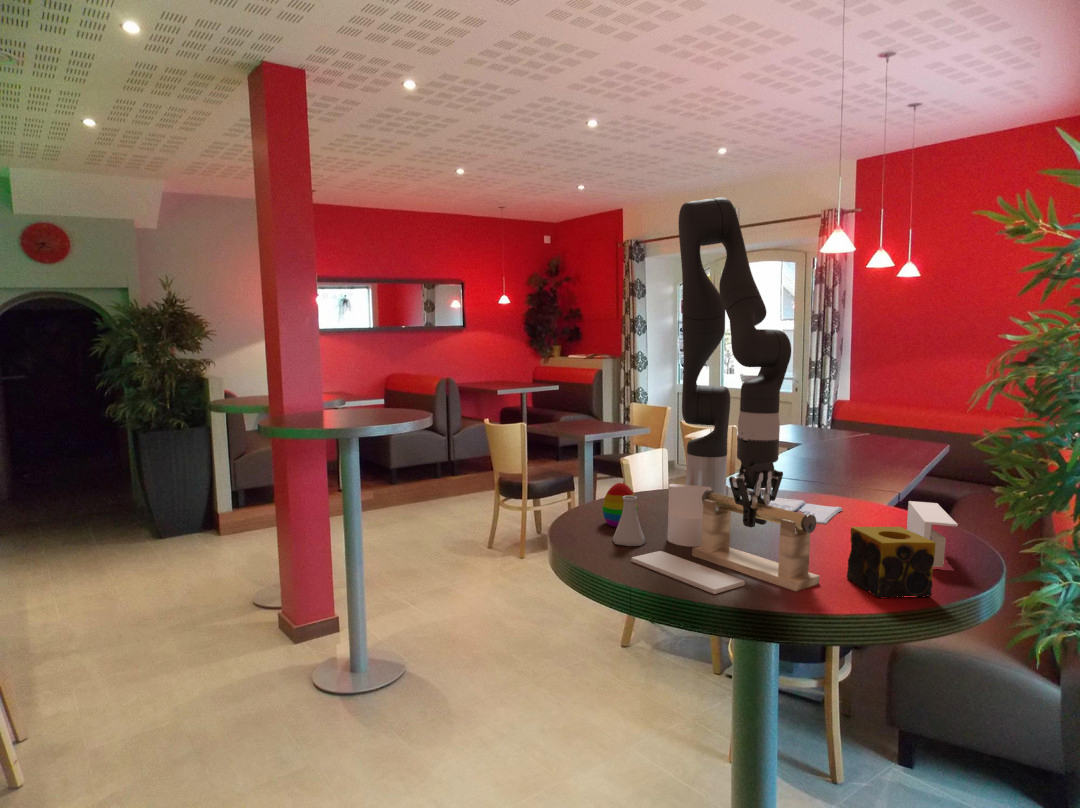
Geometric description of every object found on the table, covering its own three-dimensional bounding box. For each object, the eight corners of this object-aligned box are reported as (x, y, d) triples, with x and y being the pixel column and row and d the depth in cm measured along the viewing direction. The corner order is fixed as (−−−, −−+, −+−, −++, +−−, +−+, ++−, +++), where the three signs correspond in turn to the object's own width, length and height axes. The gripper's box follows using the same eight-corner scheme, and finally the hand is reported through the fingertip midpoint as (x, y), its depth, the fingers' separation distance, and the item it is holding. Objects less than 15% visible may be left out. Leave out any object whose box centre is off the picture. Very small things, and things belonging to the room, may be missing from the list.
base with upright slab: (711, 537, 153) (713, 484, 151) (707, 548, 144) (709, 492, 143) (670, 533, 155) (672, 481, 154) (664, 543, 147) (666, 489, 146)
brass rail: (701, 506, 139) (702, 491, 139) (712, 504, 141) (712, 489, 141) (805, 534, 120) (806, 516, 120) (815, 531, 122) (816, 513, 122)
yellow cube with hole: (845, 579, 126) (848, 526, 126) (897, 578, 127) (900, 525, 126) (877, 599, 116) (880, 542, 115) (933, 598, 117) (936, 541, 116)
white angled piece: (954, 572, 131) (958, 524, 130) (921, 569, 133) (925, 521, 132) (933, 544, 150) (936, 501, 149) (904, 541, 151) (907, 499, 151)
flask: (644, 548, 144) (646, 501, 143) (610, 546, 145) (611, 499, 144) (646, 538, 151) (647, 494, 150) (613, 536, 152) (614, 492, 151)
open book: (767, 501, 190) (767, 493, 190) (844, 512, 179) (844, 504, 179) (743, 515, 175) (743, 506, 175) (826, 528, 163) (827, 519, 163)
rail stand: (715, 549, 143) (717, 494, 142) (819, 583, 123) (822, 519, 122) (692, 555, 139) (694, 498, 138) (795, 591, 119) (798, 525, 118)
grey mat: (660, 554, 139) (660, 550, 139) (744, 585, 122) (744, 580, 122) (631, 561, 135) (631, 557, 135) (714, 594, 118) (714, 589, 118)
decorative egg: (633, 520, 166) (634, 479, 165) (639, 529, 158) (640, 486, 157) (600, 520, 166) (601, 479, 165) (604, 529, 158) (605, 486, 157)
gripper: (764, 430, 136) (761, 515, 138) (717, 436, 128) (714, 526, 130) (798, 435, 130) (793, 524, 132) (751, 441, 122) (747, 535, 124)
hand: (754, 524), depth 131 cm, fingers closed on brass rail, 2 cm apart
